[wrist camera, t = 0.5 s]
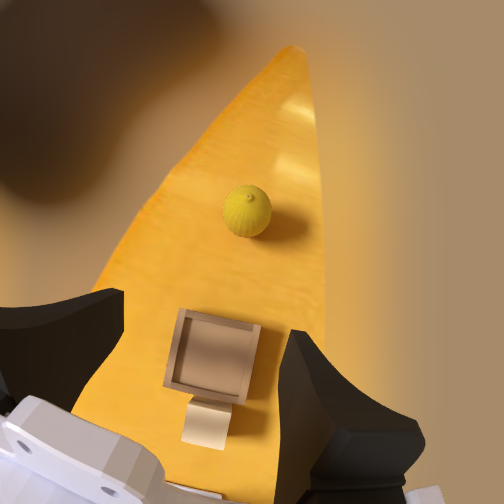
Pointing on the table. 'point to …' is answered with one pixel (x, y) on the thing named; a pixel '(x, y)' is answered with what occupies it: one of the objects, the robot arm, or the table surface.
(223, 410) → the block
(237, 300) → the table surface
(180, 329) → the tray
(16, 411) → the robot arm
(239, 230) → the lemon
